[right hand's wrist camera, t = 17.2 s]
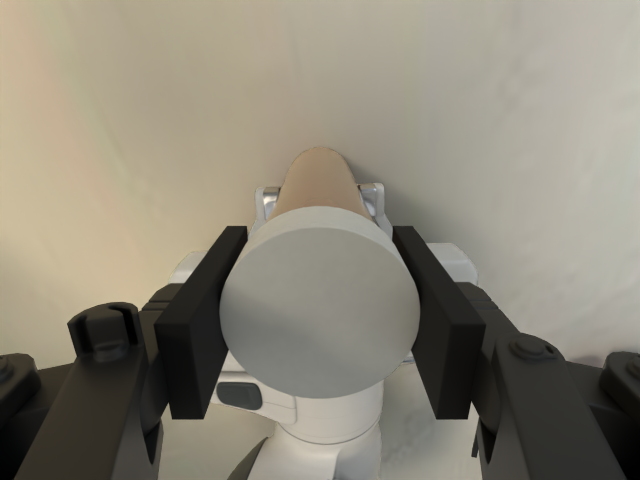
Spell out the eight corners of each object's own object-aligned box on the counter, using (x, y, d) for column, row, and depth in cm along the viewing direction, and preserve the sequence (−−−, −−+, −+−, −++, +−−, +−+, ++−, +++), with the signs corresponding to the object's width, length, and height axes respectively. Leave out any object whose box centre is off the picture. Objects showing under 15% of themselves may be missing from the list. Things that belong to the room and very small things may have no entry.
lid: (216, 330, 12) (198, 370, 11) (261, 179, 11) (249, 196, 9) (366, 373, 13) (374, 418, 11) (433, 239, 11) (457, 266, 9)
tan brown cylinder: (301, 137, 28) (265, 202, 10) (360, 160, 28) (434, 263, 10) (280, 196, 29) (216, 347, 11) (337, 217, 30) (363, 392, 12)
